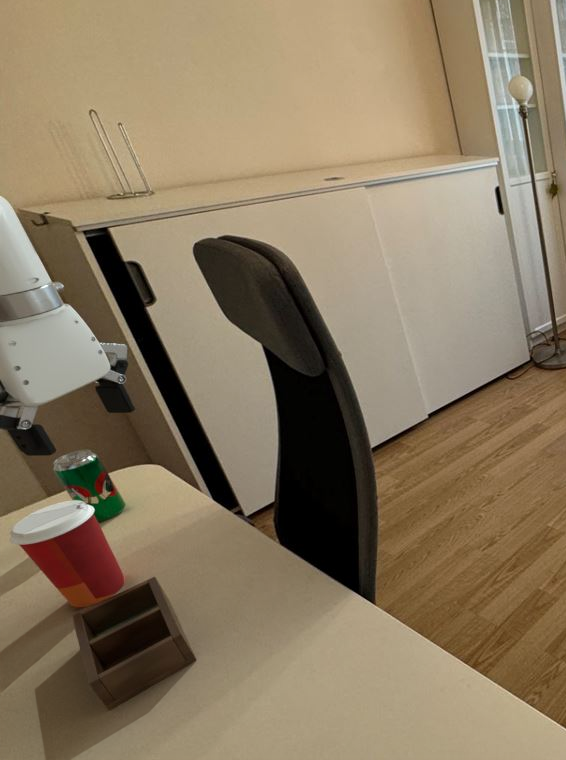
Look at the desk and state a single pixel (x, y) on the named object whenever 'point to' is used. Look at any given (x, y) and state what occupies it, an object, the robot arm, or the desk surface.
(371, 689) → the desk surface
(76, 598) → the paper cup
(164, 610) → the brown wooden divided box
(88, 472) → the soda can
